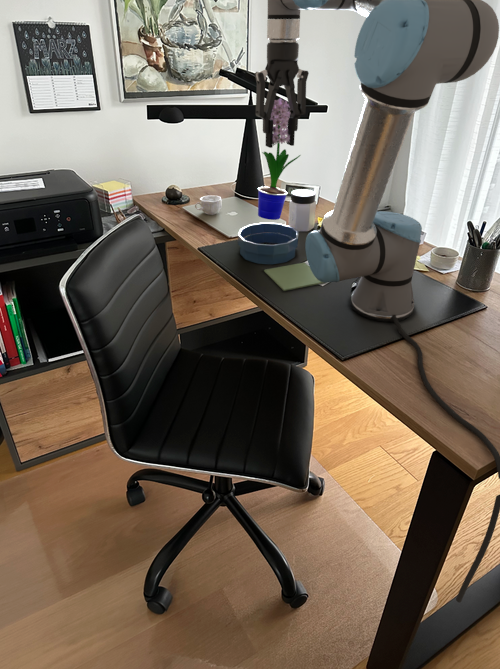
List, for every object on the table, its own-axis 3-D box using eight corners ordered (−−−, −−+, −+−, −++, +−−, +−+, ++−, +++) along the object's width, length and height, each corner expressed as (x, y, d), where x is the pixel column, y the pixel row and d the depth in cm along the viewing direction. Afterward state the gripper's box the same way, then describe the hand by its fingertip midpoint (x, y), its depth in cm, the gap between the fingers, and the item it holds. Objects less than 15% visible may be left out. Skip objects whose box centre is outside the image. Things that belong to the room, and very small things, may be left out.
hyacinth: (287, 224, 129) (307, 103, 115) (250, 217, 130) (266, 96, 116) (291, 216, 137) (311, 101, 122) (256, 210, 138) (272, 95, 123)
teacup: (218, 208, 180) (217, 194, 177) (224, 214, 174) (224, 200, 172) (192, 211, 177) (191, 197, 174) (198, 218, 171) (197, 203, 168)
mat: (326, 282, 129) (327, 281, 129) (284, 291, 125) (284, 289, 125) (304, 263, 139) (304, 262, 139) (264, 271, 135) (264, 269, 135)
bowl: (307, 259, 142) (309, 239, 139) (252, 269, 136) (252, 249, 133) (281, 237, 156) (282, 219, 153) (230, 246, 150) (229, 227, 147)
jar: (284, 225, 166) (285, 190, 159) (303, 221, 169) (306, 187, 162) (298, 233, 159) (300, 198, 152) (318, 229, 162) (321, 194, 156)
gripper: (309, 40, 117) (304, 140, 130) (240, 41, 111) (241, 145, 124) (325, 41, 111) (317, 145, 124) (252, 42, 105) (252, 151, 118)
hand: (279, 145), depth 124 cm, fingers closed on hyacinth, 5 cm apart
